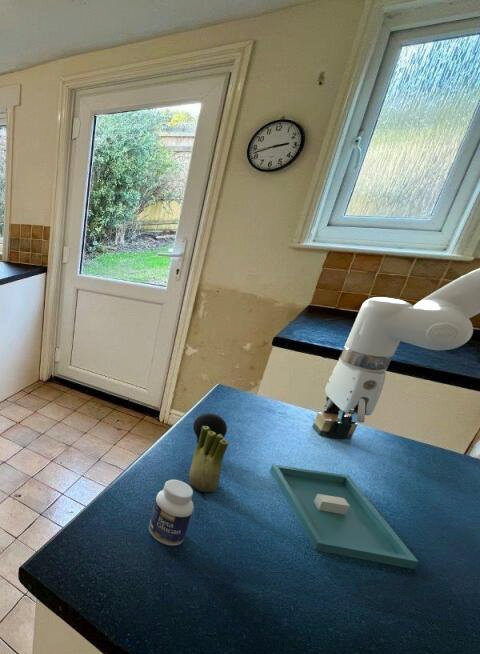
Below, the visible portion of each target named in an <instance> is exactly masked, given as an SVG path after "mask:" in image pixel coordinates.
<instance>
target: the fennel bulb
mask: <svg viewBox="0 0 480 654" xmlns="http://www.w3.org/2000/svg"><path fill="white" fill-rule="evenodd" d="M215 437H216V433H215V432H213V431H210V428H209V427H207V426H202V429H201V433H200V437H199V441H198V443H197V442H196V447H195V449H194V452H193V455H192V459H191V465H190V469H189V473H188V479H189V481H188V482H189V486H190V487H191V488H192V489H194V490H196V491H198V492H201V493H213V492H215V491H217V489H218V487H219V483H220V478H221V471H222V463H223V460H224V457H225V453H226V451H227V448H228V446H229V442H228V441H227V440H226V439H225V438H224V437H223V436H222V435H221V434H218V435H217V437H216V439H215Z"/></svg>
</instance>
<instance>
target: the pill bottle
mask: <svg viewBox="0 0 480 654" xmlns="http://www.w3.org/2000/svg"><path fill="white" fill-rule="evenodd" d="M193 495H194V491H193V488H192V486H191V485H190V484H188V483H186V482H184V481H182V480H179V479H169V480H167V481H165V483H164V486H163V489H162V490H160V491H158V493H157V494H156V497H155V501H154V505H153V508H152V512H151V516H150V520H149V524H148V530H149V533H150V535H151V536H152V537H153V538H154V539H155V540H156V541H157V542H159V543H161V544H163V545H167V546H173V547H174V546H179V545H181V544H182V543H184V540H185V538H186V534H187V531H188V528H189V525H190V521H191V519H192V516H193V513H194V509H195V506H194V502H193V500H192V499H193Z"/></svg>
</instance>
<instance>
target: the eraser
mask: <svg viewBox="0 0 480 654" xmlns="http://www.w3.org/2000/svg"><path fill="white" fill-rule="evenodd" d="M338 415H339V414H330V413H323V412H322V411H318V412H317V414H316V416H315V419H314V421H313V424H312V428H313V430H314V431H315V432H316V433H317V435H318V436H323V437H329V436H328V433H329V431H330V428H331V426H332V424H333V422H334V421H337V418H338ZM346 416H348V415H347V414H345V417H346ZM358 425H359V424H358V423H355V424H354V425H352V426H351V428H350V431H349V433H348V435H347V437H346V438H345V439H344V440H352V437H353V436H354V433H355V431H356V430H357V427H358Z"/></svg>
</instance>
